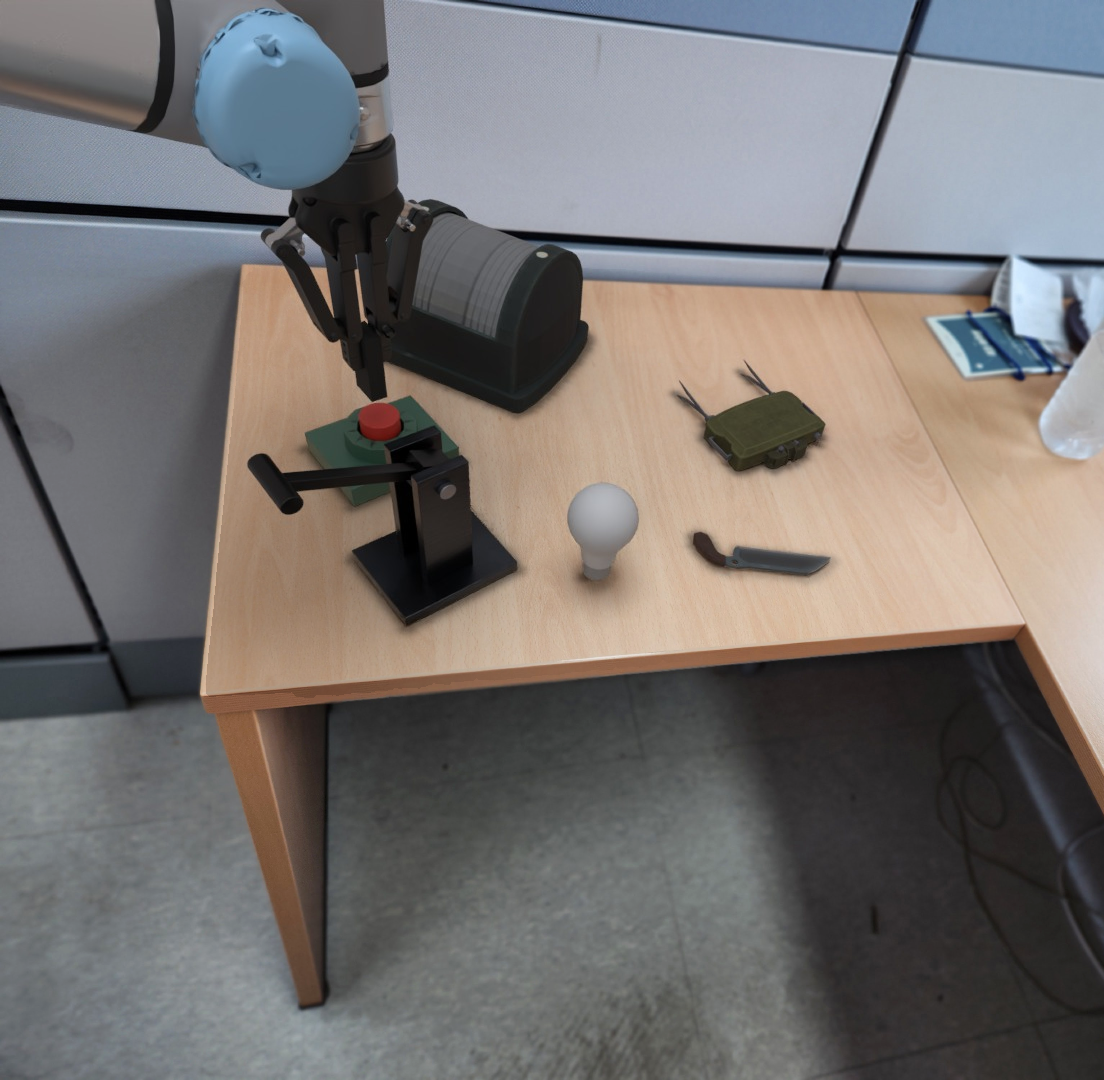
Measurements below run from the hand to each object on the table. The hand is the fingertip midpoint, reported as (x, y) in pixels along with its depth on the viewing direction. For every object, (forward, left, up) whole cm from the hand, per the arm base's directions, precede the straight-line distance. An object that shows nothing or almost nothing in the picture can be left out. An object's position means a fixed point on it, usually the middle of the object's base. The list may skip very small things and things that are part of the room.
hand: (372, 390), depth 77 cm
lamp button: (0, 0, -5) cm, 5 cm away
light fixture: (+18, +11, -9) cm, 23 cm away
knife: (+23, -31, -8) cm, 40 cm away
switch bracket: (-3, -14, -8) cm, 17 cm away
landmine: (+36, -15, -9) cm, 40 cm away
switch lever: (-8, -14, +5) cm, 17 cm away
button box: (0, 0, -8) cm, 8 cm away
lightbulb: (+8, -23, -9) cm, 26 cm away
